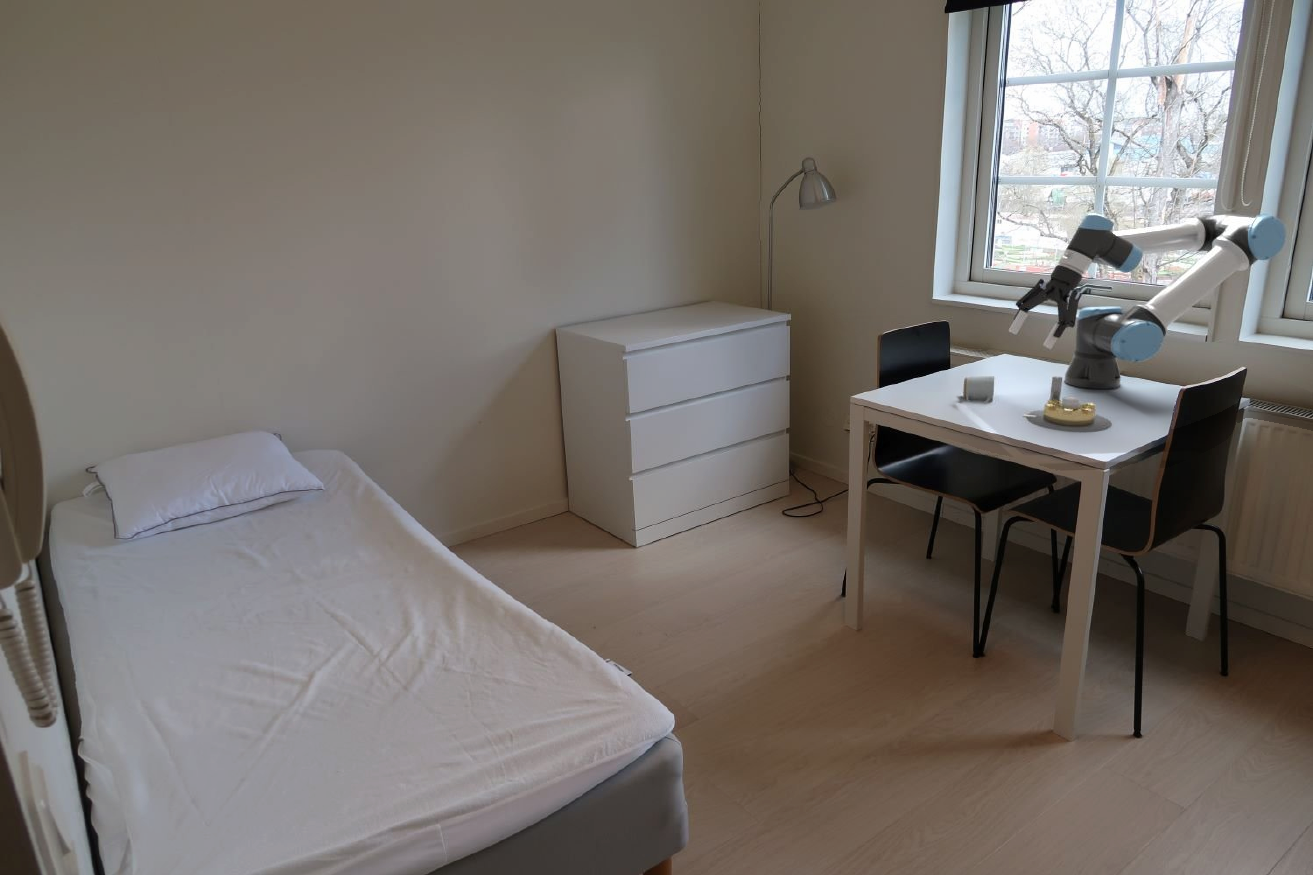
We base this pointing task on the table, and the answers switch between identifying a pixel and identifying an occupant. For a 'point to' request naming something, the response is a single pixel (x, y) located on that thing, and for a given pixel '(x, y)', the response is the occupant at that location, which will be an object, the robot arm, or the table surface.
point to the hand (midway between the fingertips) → (1029, 339)
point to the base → (1073, 404)
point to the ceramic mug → (979, 388)
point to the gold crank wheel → (1064, 415)
